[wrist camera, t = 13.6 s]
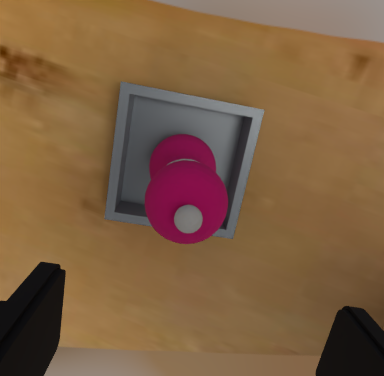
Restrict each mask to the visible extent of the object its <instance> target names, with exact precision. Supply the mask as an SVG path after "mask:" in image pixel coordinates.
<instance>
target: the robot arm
mask: <svg viewBox="0 0 384 376" xmlns="http://www.w3.org/2000/svg"><path fill="white" fill-rule="evenodd" d="M64 285H65V270H62V269H60V265H59V264H53V263H46V262H40V263H39V264H38V265H37V267H36V268H35V269H34V270H33V271H32V272H31V273H30V275H29V276H28V277H27V278H26V279H25V280H24V282H23V283H22V284H21V285H20V286H19V287H18V288H17V290H16V291H15V292H14V293H13V294H12V295H11V297H10V298H9V299H8V300H7V301H0V376H44V374H45V372H46V370H47V368H48V366H49V364H50V362H51V360H52V358H53V356H54V354H55V352H56V350H57V347H58V344H59V339H60V329H61V318H62V307H63V296H64ZM316 376H384V331H383V330H382V329H381V328H380V327H379V325H378V324H377V323H376V322H375V321H374V320H373V319H372V318H371V316H370V315H369V314H368V313H367V312H366V311H365V310H364V309H362V308H357V307H350V306H344V307H343V308H342V310H339V311H338V312H337V314H336V317H335V320H334V323H333V325H332V328H331V331H330V333H329V336H328V339H327V342H326V344H325V347H324V350H323V353H322V355H321V358H320V361H319V364H318V366H317V369H316Z"/></svg>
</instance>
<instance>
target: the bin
mask: <svg viewBox="0 0 384 376" xmlns="http://www.w3.org/2000/svg"><path fill="white" fill-rule="evenodd" d="M263 114H264V110H262V109H257V108H252V107H247V106H242V105H237V104H232V103H227V102H222V101H217V100H212V99H207V98H202V97H197V96H192V95H187V94H182V93H177V92H172V91H167V90H161V89H156V88H151V87H146V86H141V85H136V84H131V83H126V82H121V86H120V94H119V102H118V111H117V119H116V127H115V135H114V144H113V152H112V160H111V169H110V177H109V185H108V193H107V202H106V210H105V218H104V219H107V220H114V221H120V222H127V223H133V224H139V225H146V226H152V225H151V224H150V222H149V220H148V217H147V214H146V211H145V193H146V190H147V186H148V185H149V183H150V181H151V178H150V173H149V163H150V158H151V155H152V153H153V151H154V149H155V148H156V147H157V145H158V144H159V143H160V142H162V141H163V140H164V139H166V138H168V137H170V136H173V135H177V134H188V135H192V136H195V137H197V138H199V139H201V140H202V141H204V142H205V143H206V144H207V145H208V146H209V148H210V149H211V150H212V153H213V155H214V158H215V162H216V173H217V174H218V176H219V177H220V178H221V180H222V182H223V183H224V185H225V187H226V191H227V195H228V209H227V213H226V217H225V219H224V221H223V223H222V225H221V226H220V228H219V229H218V230H217V231H216V232H215V233H214V234H213V235H212V236H217V237H223V238H230V239H233V236H234V232H235V228H236V224H237V220H238V216H239V212H240V208H241V204H242V200H243V195H244V191H245V187H246V183H247V179H248V175H249V171H250V167H251V163H252V159H253V155H254V150H255V146H256V142H257V138H258V134H259V130H260V126H261V122H262V118H263Z"/></svg>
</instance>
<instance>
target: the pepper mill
mask: <svg viewBox="0 0 384 376" xmlns="http://www.w3.org/2000/svg"><path fill="white" fill-rule="evenodd" d="M149 173H150V178H151V181H150V183H149V185H148V186H147V190H146V193H145V211H146V214H147V217H148V220H149V222H150V224H151V225H152V227H153V228H154V229H155V230H156V231H157V232H158V233H159V234H160V235H161V236H163V237H164V238H166V239H168V240H170V241H173V242H176V243H180V244H191V243H197V242H200V241H203V240H205V239H207V238H209V237H210V236H212V235H213V234H214V233H215V232H216V231H217V230H218V229H219V228H220V226H221V225H222V223H223V221H224V219H225V217H226V213H227V209H228V195H227V191H226V187H225V185H224V183H223V182H222V180H221V178H220V177H219V176H218V174H217V173H216V162H215V158H214V155H213V153H212V150H211V149H210V148H209V146H208V145H207V144H206V143H205V142H204V141H202V140H201V139H199V138H197V137H195V136H192V135H188V134H177V135H173V136H170V137H168V138H166V139H164V140H163V141H162V142H160V143H159V144H158V145H157V147H156V148H155V149H154V151H153V153H152V155H151V158H150V163H149Z"/></svg>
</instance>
